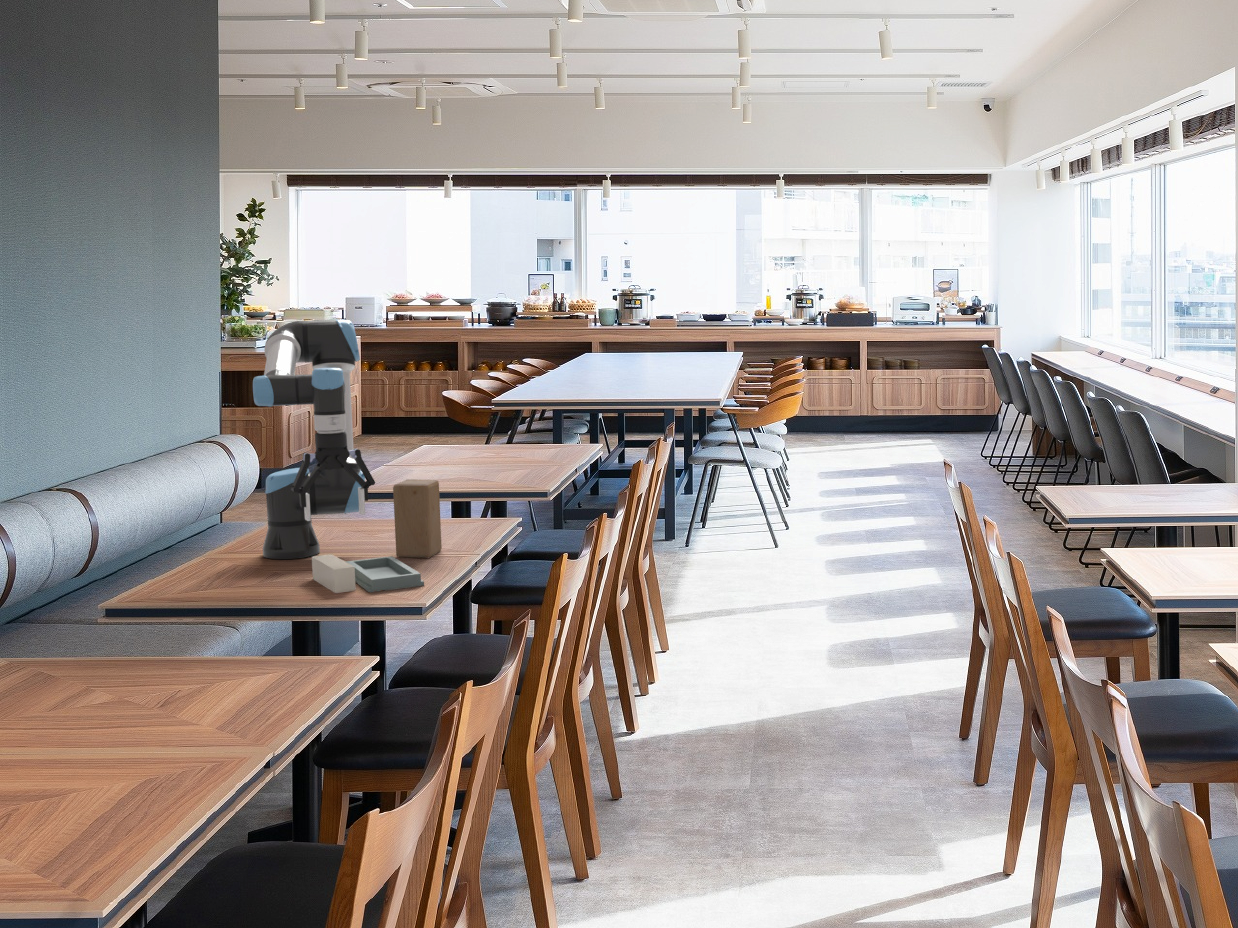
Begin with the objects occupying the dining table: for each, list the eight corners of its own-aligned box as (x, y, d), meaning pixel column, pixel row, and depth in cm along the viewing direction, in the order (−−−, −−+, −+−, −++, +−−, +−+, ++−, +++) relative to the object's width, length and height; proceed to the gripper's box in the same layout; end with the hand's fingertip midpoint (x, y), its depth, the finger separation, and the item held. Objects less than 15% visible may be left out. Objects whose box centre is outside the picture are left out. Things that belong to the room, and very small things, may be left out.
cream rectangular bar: (313, 580, 311) (311, 556, 310) (332, 577, 313) (331, 554, 312) (335, 594, 295) (334, 569, 294) (355, 591, 298) (354, 566, 297)
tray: (343, 573, 316) (343, 561, 316) (395, 567, 322) (394, 555, 322) (369, 592, 295) (368, 580, 295) (424, 585, 301) (423, 573, 301)
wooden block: (430, 558, 332) (427, 484, 329) (394, 558, 334) (391, 484, 331) (443, 551, 341) (439, 479, 339) (408, 550, 343) (405, 478, 341)
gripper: (282, 436, 294) (288, 524, 297) (385, 429, 306) (389, 514, 309) (275, 433, 300) (280, 520, 303) (375, 426, 312) (379, 509, 315)
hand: (335, 517), depth 306 cm, fingers open, 13 cm apart
